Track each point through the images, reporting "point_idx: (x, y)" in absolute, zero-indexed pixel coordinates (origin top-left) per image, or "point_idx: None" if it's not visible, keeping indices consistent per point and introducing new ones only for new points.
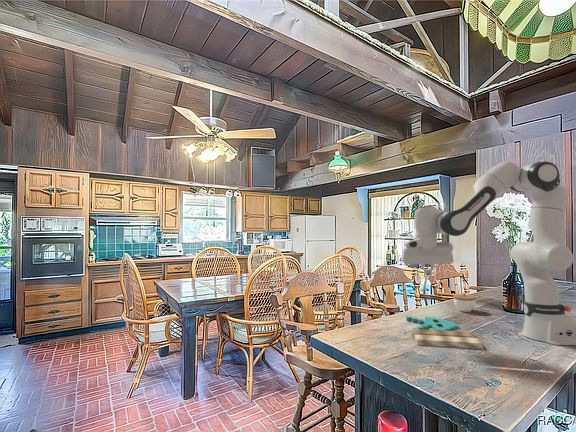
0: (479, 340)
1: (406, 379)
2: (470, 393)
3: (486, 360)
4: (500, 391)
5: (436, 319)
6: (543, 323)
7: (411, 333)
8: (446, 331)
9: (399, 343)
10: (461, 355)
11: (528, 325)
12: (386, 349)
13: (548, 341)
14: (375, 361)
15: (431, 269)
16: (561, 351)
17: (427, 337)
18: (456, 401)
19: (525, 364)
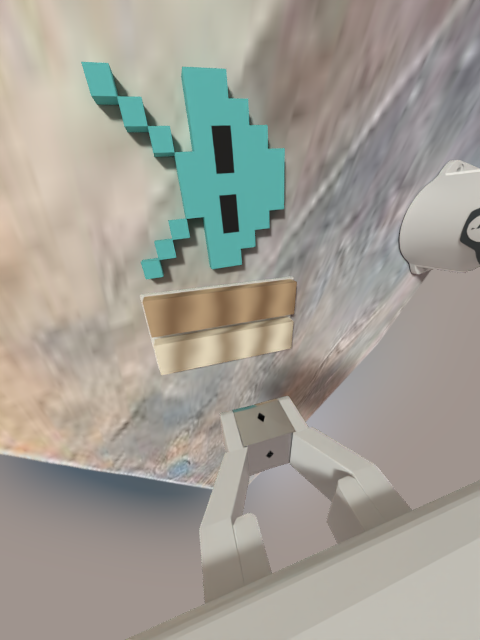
0: (291, 335)
1: (154, 474)
2: None
3: (274, 379)
4: None
5: (228, 121)
6: (451, 265)
7: (140, 296)
8: (237, 295)
9: (118, 365)
10: (242, 375)
11: (431, 237)
12: (96, 406)
13: (413, 266)
14: (91, 456)
15: (307, 471)
16: (398, 301)
17: (186, 355)
18: (210, 481)
19: (319, 371)
